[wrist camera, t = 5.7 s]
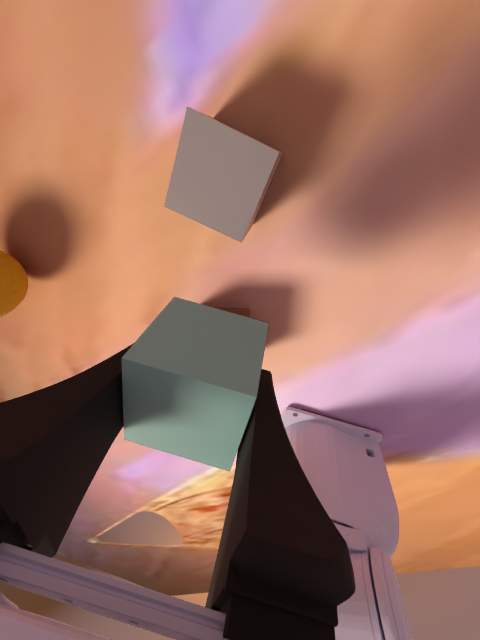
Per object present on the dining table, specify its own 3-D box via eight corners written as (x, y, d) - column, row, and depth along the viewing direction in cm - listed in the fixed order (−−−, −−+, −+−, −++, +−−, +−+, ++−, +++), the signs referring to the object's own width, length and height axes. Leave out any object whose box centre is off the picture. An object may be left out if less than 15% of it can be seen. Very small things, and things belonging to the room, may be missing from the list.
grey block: (283, 152, 16) (279, 152, 12) (252, 224, 19) (241, 242, 15) (213, 118, 16) (187, 106, 12) (191, 195, 18) (164, 206, 14)
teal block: (268, 323, 12) (256, 397, 9) (246, 390, 15) (229, 471, 11) (174, 296, 13) (121, 358, 9) (167, 367, 15) (124, 439, 11)
